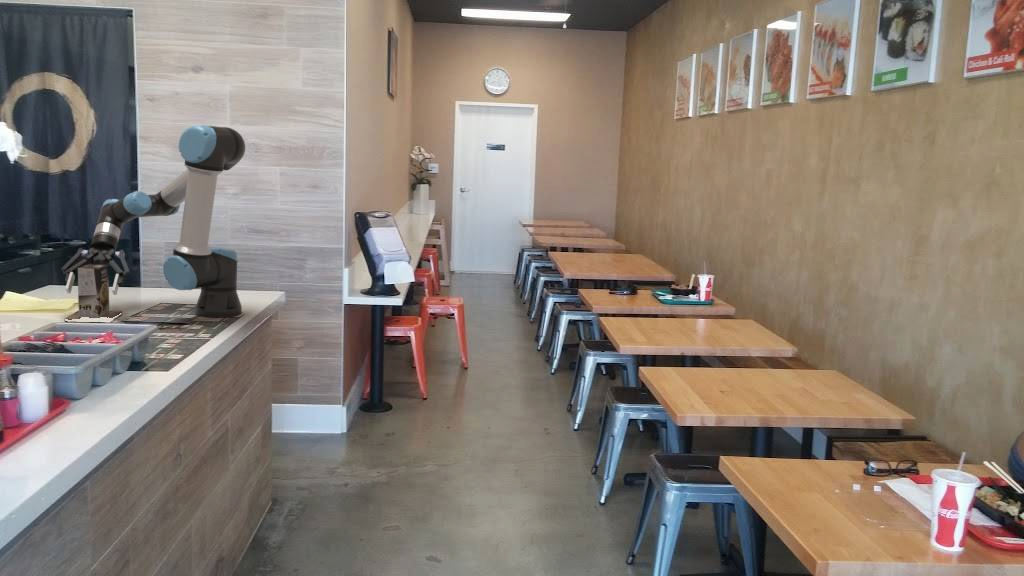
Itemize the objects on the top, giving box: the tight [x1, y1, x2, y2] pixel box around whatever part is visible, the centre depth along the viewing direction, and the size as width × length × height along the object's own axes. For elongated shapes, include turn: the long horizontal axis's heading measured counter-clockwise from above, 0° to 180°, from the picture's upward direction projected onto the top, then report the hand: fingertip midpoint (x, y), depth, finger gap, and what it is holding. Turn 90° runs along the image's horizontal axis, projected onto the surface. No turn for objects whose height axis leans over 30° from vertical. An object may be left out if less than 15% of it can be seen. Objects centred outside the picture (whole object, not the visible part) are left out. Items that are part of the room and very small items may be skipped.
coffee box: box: [77, 263, 110, 318], centre depth 243 cm, size 9×6×16 cm
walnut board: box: [64, 309, 123, 320], centre depth 245 cm, size 13×13×1 cm
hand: (91, 292), depth 242 cm, fingers open, 13 cm apart
